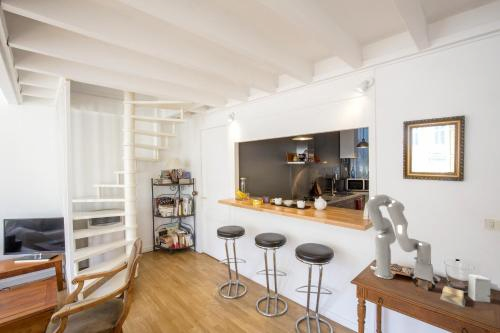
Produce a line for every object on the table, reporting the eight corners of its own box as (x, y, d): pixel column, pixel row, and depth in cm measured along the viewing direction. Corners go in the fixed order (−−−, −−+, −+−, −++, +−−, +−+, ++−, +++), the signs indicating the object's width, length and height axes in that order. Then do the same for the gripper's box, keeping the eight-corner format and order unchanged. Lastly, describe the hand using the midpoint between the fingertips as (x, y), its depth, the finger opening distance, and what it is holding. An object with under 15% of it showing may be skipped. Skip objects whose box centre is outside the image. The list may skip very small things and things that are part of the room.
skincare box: (474, 302, 140) (475, 278, 140) (467, 297, 146) (467, 273, 146) (491, 304, 138) (491, 279, 138) (482, 298, 144) (483, 274, 144)
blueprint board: (430, 298, 144) (430, 296, 144) (434, 290, 154) (434, 288, 154) (475, 313, 130) (475, 311, 130) (476, 303, 139) (476, 301, 139)
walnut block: (418, 289, 155) (418, 279, 155) (419, 286, 158) (419, 276, 158) (427, 292, 151) (427, 281, 151) (428, 289, 155) (429, 279, 154)
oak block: (442, 299, 142) (442, 290, 142) (444, 293, 148) (444, 285, 148) (462, 305, 135) (462, 296, 135) (463, 299, 142) (463, 291, 142)
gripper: (407, 258, 158) (407, 284, 158) (439, 266, 146) (439, 294, 146) (409, 256, 163) (409, 280, 163) (441, 263, 151) (441, 289, 151)
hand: (423, 286), depth 154 cm, fingers open, 9 cm apart
